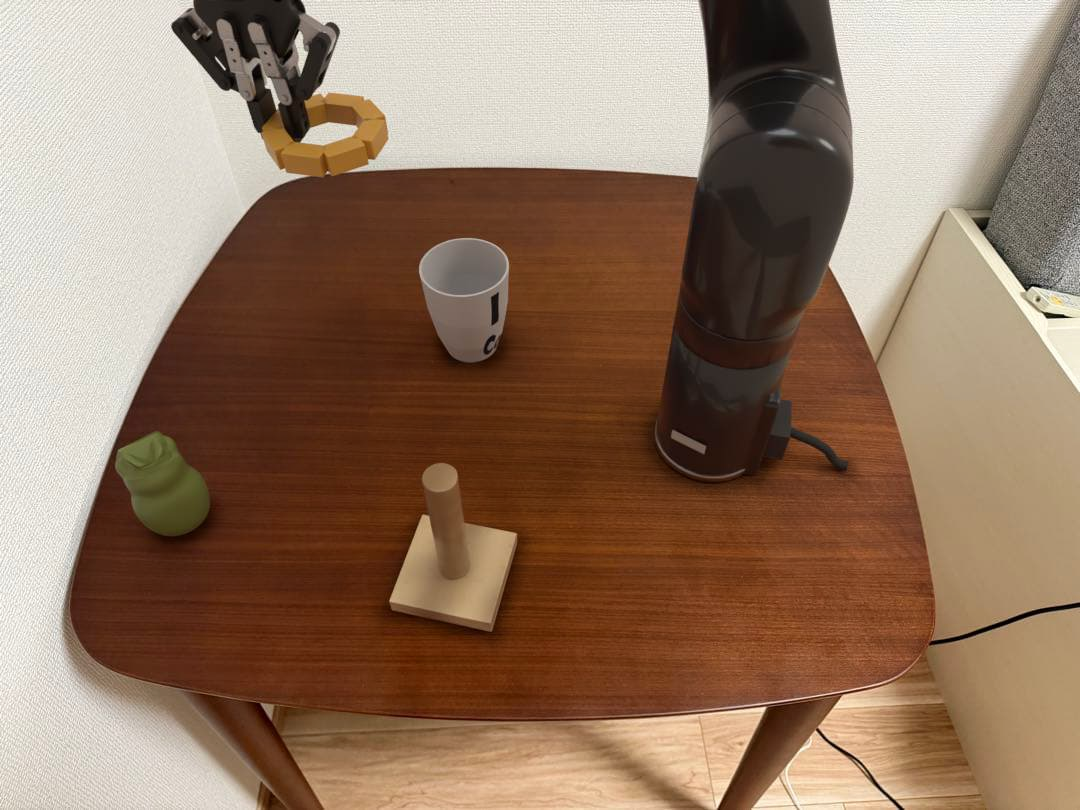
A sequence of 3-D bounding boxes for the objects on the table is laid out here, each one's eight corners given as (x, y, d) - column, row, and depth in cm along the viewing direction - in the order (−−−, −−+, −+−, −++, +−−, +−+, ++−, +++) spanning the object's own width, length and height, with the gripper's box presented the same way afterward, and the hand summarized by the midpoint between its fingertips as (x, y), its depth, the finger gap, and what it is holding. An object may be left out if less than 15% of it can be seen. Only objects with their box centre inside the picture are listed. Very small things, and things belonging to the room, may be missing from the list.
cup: (501, 379, 78) (497, 302, 71) (420, 367, 79) (407, 289, 72) (520, 321, 84) (517, 243, 76) (443, 310, 85) (433, 233, 77)
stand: (517, 542, 67) (512, 441, 57) (491, 632, 62) (481, 539, 51) (424, 523, 68) (402, 421, 58) (391, 610, 63) (361, 515, 53)
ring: (401, 119, 71) (398, 100, 70) (360, 182, 65) (356, 163, 63) (299, 107, 72) (294, 88, 71) (250, 168, 66) (243, 148, 65)
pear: (163, 560, 66) (114, 489, 58) (141, 515, 69) (90, 442, 61) (229, 524, 68) (189, 452, 60) (204, 482, 71) (163, 408, 63)
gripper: (101, -77, 55) (190, 152, 68) (290, -61, 53) (344, 172, 66) (160, -115, 60) (232, 106, 73) (336, -102, 57) (378, 123, 70)
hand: (285, 136), depth 69 cm, fingers closed on ring, 2 cm apart
